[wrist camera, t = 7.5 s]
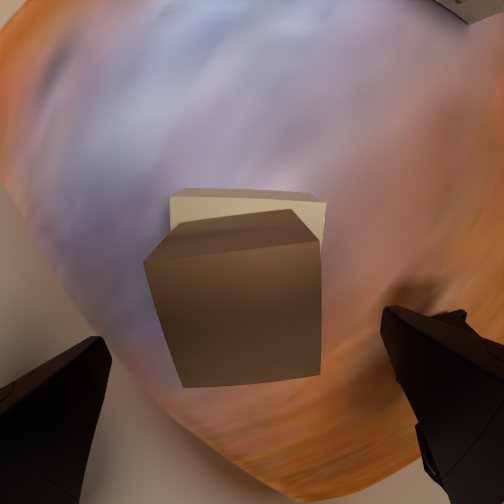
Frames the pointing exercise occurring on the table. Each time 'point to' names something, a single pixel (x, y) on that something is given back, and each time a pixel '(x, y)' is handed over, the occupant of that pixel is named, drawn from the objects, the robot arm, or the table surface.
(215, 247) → the walnut cube
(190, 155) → the table surface
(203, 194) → the cream block
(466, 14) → the light bulb box
